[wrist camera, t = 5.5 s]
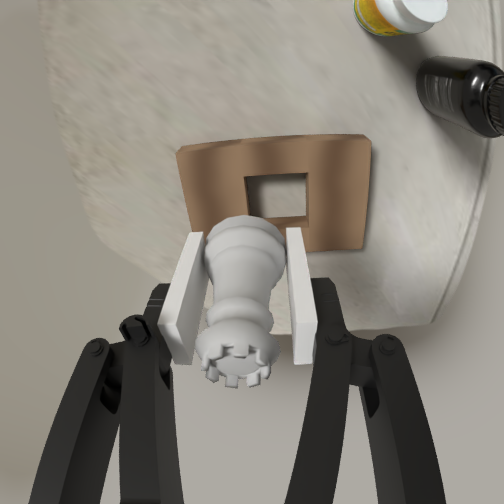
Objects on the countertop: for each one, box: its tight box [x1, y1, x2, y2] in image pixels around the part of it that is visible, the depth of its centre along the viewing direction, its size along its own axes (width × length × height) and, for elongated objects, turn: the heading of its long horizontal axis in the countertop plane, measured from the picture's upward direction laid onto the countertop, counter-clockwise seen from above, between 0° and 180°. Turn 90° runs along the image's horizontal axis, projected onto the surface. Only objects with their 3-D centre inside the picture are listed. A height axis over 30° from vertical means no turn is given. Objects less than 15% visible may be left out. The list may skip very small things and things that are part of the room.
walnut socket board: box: [176, 134, 371, 252], centre depth 30 cm, size 18×12×2 cm, turn 96°
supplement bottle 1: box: [353, 0, 448, 36], centre depth 15 cm, size 5×5×10 cm
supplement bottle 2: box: [416, 56, 504, 138], centre depth 17 cm, size 7×7×12 cm
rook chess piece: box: [195, 215, 287, 388], centre depth 13 cm, size 4×4×8 cm
